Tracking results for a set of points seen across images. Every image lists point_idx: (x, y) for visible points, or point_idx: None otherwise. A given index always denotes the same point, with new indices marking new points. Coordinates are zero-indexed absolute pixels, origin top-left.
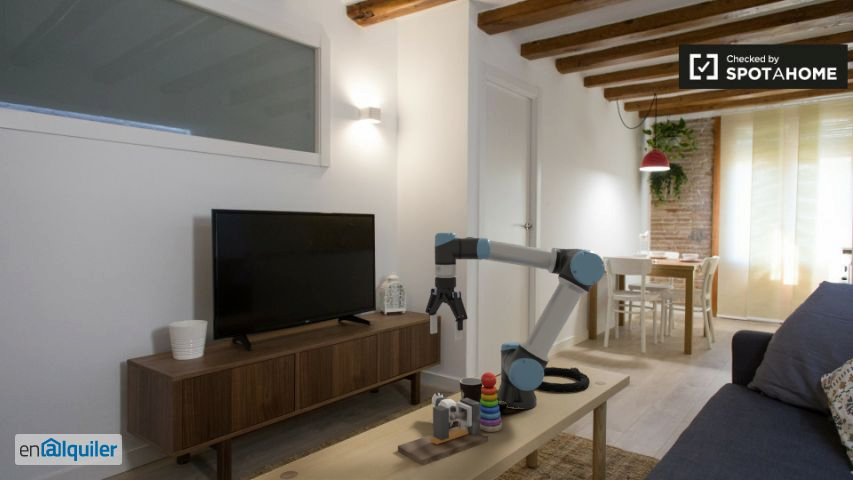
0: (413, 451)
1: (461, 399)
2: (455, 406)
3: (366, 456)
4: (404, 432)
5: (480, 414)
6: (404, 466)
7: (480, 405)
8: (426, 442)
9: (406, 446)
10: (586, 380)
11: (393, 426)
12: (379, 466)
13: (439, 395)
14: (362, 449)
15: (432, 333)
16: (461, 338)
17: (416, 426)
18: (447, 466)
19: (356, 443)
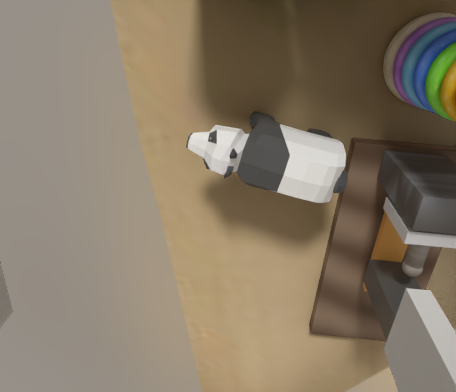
0: (360, 330)
1: (415, 225)
2: (341, 173)
3: (280, 370)
4: (240, 259)
5: (423, 108)
6: (373, 353)
7: (424, 100)
8: (352, 286)
9: (329, 325)
10: None
11: (188, 254)
12: (333, 377)
13: (235, 163)
14: (248, 359)
15: (9, 303)
16: (432, 305)
17: (231, 215)
18: (451, 307)
19: (214, 352)
